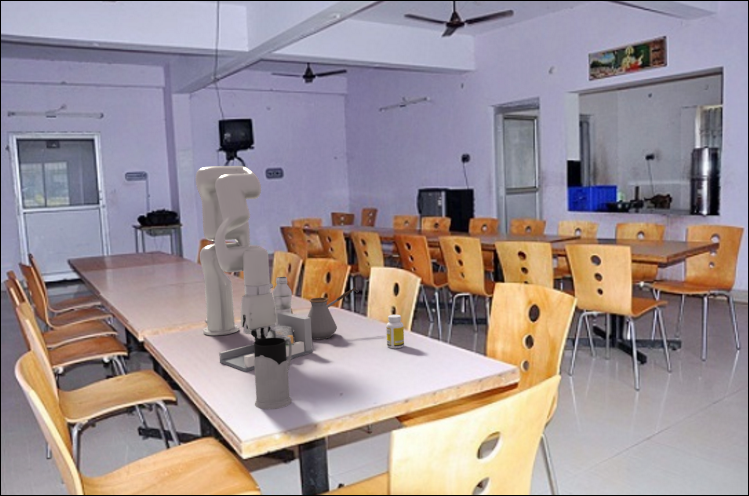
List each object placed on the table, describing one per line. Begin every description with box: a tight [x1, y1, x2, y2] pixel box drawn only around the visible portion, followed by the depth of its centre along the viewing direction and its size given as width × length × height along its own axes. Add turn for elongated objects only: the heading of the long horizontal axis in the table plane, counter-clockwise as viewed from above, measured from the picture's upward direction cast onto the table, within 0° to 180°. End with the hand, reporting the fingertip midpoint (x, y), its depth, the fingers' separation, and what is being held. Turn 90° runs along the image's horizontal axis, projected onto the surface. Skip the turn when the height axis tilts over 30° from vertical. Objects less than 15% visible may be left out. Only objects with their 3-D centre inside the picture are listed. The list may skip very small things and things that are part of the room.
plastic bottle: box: [272, 276, 294, 332], centre depth 208 cm, size 6×7×20 cm
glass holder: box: [253, 338, 293, 410], centre depth 147 cm, size 9×14×15 cm, turn 159°
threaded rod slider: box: [266, 324, 294, 344], centre depth 187 cm, size 11×14×7 cm
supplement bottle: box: [385, 314, 405, 349], centre depth 189 cm, size 5×5×10 cm
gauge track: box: [218, 312, 313, 373], centre depth 182 cm, size 14×24×11 cm, turn 134°
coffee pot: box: [307, 287, 359, 340], centre depth 207 cm, size 21×12×15 cm, turn 124°
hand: (261, 349), depth 181 cm, fingers closed
